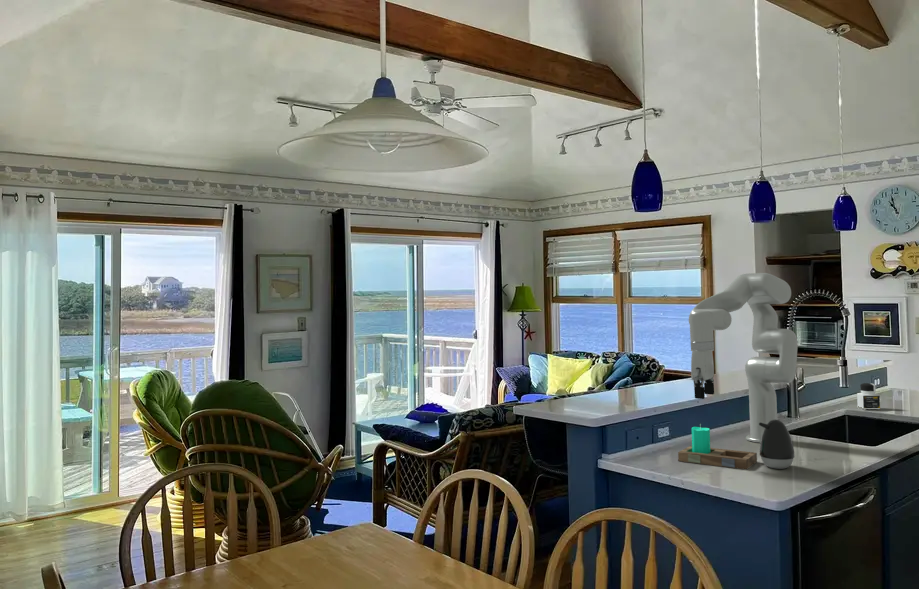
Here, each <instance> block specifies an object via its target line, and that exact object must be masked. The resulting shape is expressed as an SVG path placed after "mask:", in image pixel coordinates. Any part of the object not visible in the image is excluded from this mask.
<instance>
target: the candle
mask: <svg viewBox="0 0 919 589" xmlns="http://www.w3.org/2000/svg"><path fill="white" fill-rule="evenodd" d="M701 425H702V424H701V423H700V424H699V426H693V427H691V446H692V452H695V453H703V454H709V453H711V452H710V448H711V429H710V428H709V427H701Z"/></svg>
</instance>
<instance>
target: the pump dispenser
mask: <svg viewBox="0 0 919 589" xmlns="http://www.w3.org/2000/svg"><path fill="white" fill-rule="evenodd" d="M759 425H760V426H762V427H764V428H765V429H764V431H763V434H762V438H761V443H760V445H759V456H760V457H761V458H760V459H761V461H762V462H763V464H764V465H765V466H767V467H768V468H770V469H775V470H782V469H787V468H789V467H790V466H791V465H792V464H793V461H794V458H795V456H796V455H795V448H794V443H793V440H792V438H791V437H792V436H791V434H790V432H789V430H788V428H787V426H786V424H785V423H784V422H783V421H782V420H780V419H777V420H771V421H769V422H768V424H764V423H761V422H760V423H759Z"/></svg>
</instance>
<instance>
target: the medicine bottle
mask: <svg viewBox="0 0 919 589" xmlns="http://www.w3.org/2000/svg"><path fill="white" fill-rule="evenodd" d="M876 391H877V389H876V384H875V383H871V382H869V383H868V382H866V383H865V382H862V383H861V384H860V392H857V393H856V400H857V407H858V406H859V407H862V408H880V409H881V402H880V401H881V399H880V397H881V396H880V394H878V393H876Z"/></svg>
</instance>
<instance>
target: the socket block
mask: <svg viewBox="0 0 919 589" xmlns="http://www.w3.org/2000/svg"><path fill="white" fill-rule="evenodd" d="M710 452H711V453H709V454H703V453H695V452H692V445H689V446H688V447H685V448H683V449H681V450H679V451H678V452H677V457H678V458H677V459H678V460H677V461H678V462H682V463H683V462H684V463H691V464H699V465H708V466H715V467H723V468H731V469H741V470H748V469H749V468H751V467H752V466H753V465H754V464H756V463H758V456H757V455H758V454H757V452H754V451H744V450H734V449H725V448H717V447H710Z"/></svg>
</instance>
